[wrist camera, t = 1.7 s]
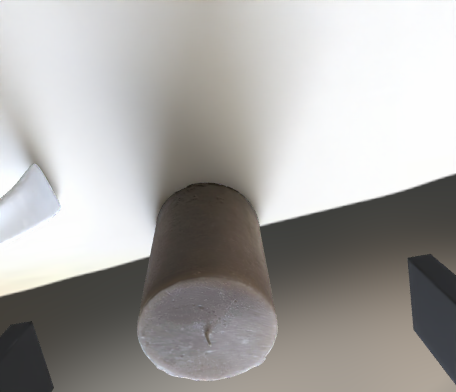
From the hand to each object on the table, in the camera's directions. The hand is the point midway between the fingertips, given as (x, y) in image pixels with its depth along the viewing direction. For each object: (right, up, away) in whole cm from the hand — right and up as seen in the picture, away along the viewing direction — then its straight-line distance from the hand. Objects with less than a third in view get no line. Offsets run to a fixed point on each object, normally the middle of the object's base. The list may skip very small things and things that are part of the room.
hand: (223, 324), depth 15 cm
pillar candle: (-2, +1, +27) cm, 27 cm away
